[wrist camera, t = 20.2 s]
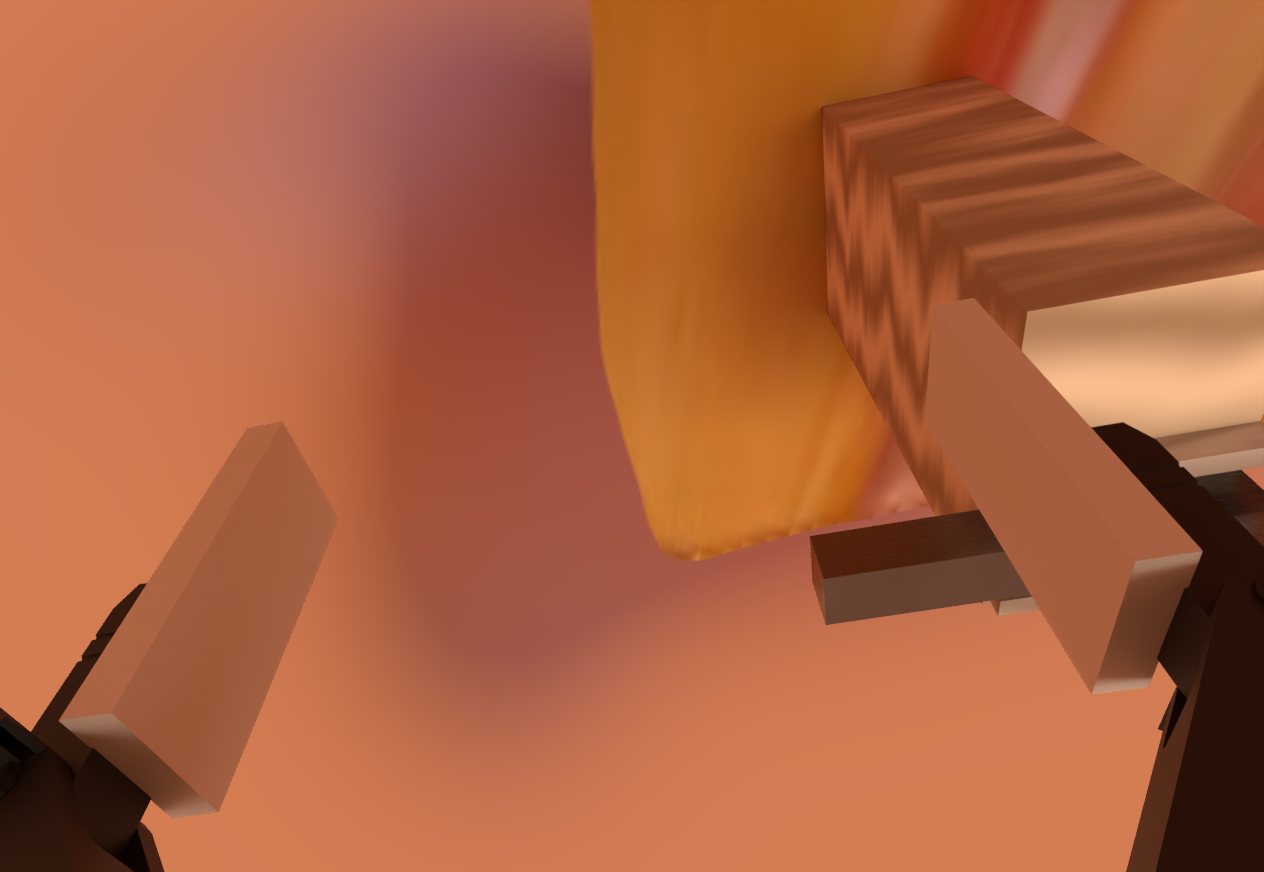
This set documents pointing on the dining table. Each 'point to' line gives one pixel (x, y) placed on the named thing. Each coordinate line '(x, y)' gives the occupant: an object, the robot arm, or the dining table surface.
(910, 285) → the stand
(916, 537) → the dark wood beam
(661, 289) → the dining table surface
